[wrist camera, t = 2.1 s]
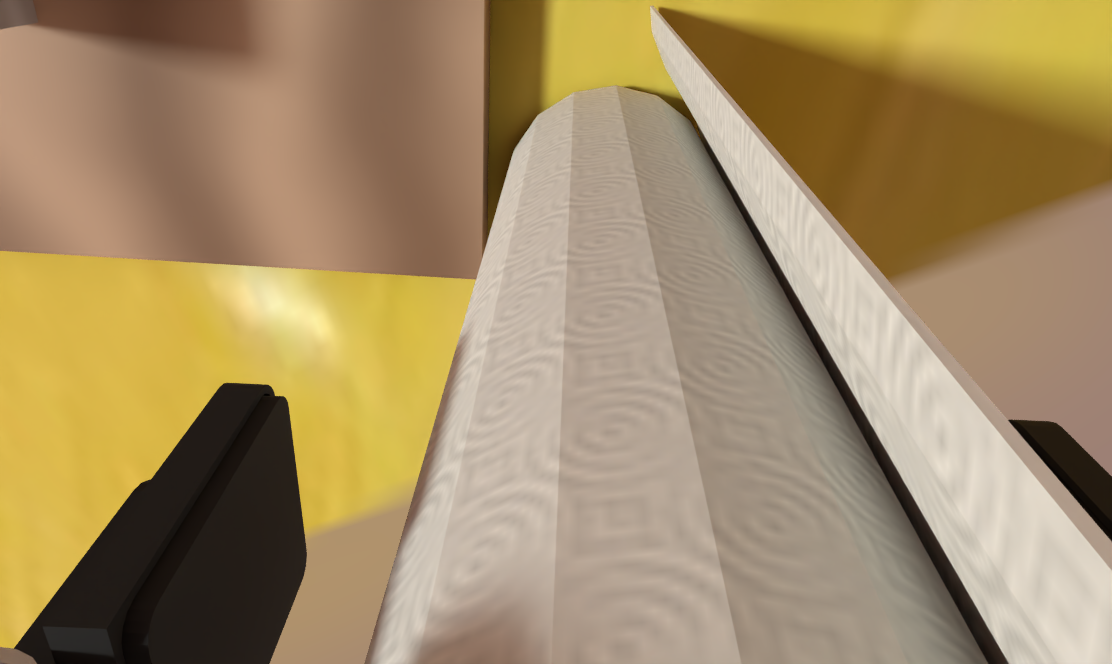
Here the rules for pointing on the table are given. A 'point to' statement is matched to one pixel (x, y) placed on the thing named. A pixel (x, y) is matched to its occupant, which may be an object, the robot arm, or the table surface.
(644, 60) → the table surface
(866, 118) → the table surface
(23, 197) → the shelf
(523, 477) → the paper towel roll
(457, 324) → the table surface
